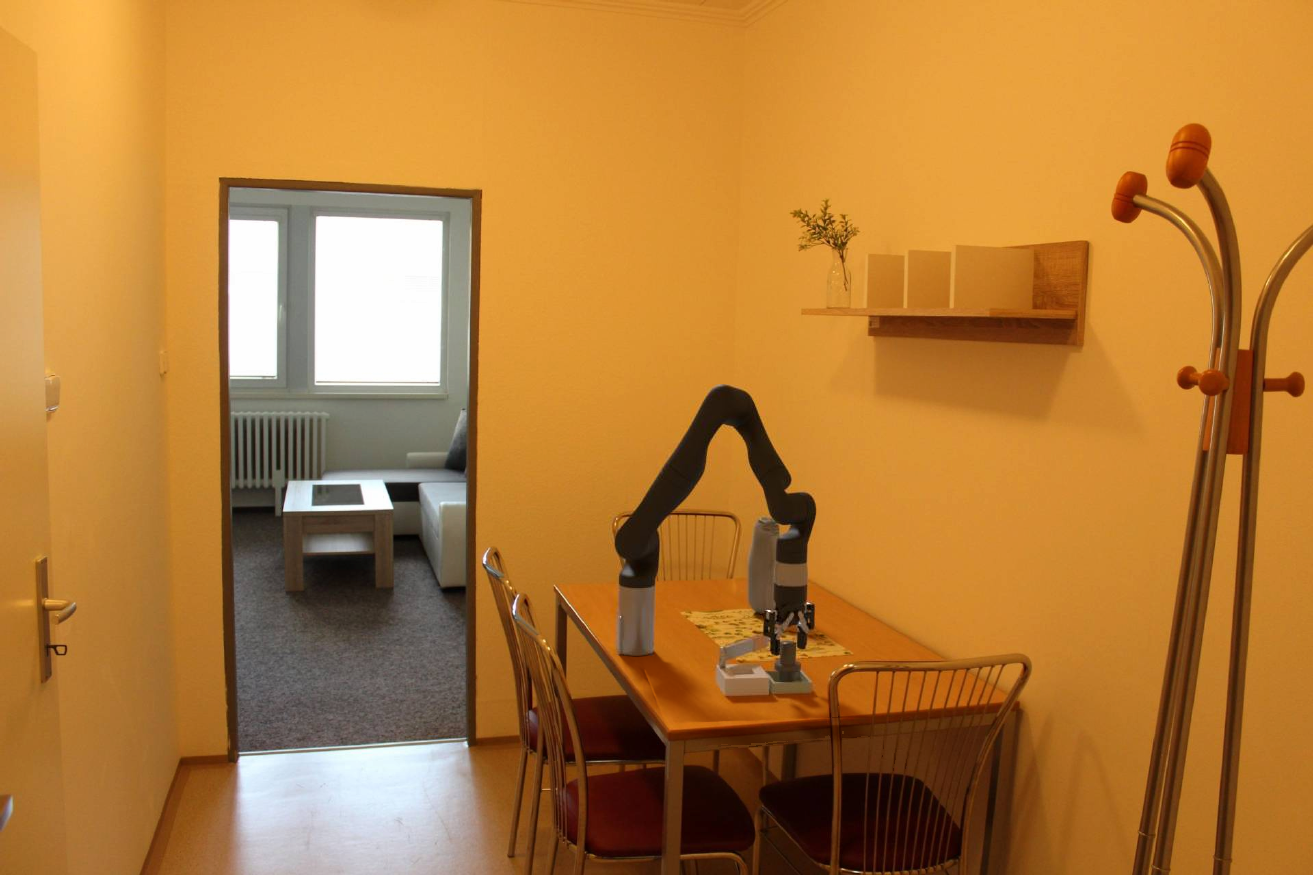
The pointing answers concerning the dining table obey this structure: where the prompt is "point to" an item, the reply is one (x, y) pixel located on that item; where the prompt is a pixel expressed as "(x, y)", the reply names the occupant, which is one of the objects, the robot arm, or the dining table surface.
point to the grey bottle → (762, 565)
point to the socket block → (742, 680)
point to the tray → (789, 683)
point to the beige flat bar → (742, 648)
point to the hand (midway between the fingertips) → (788, 651)
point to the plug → (787, 662)
